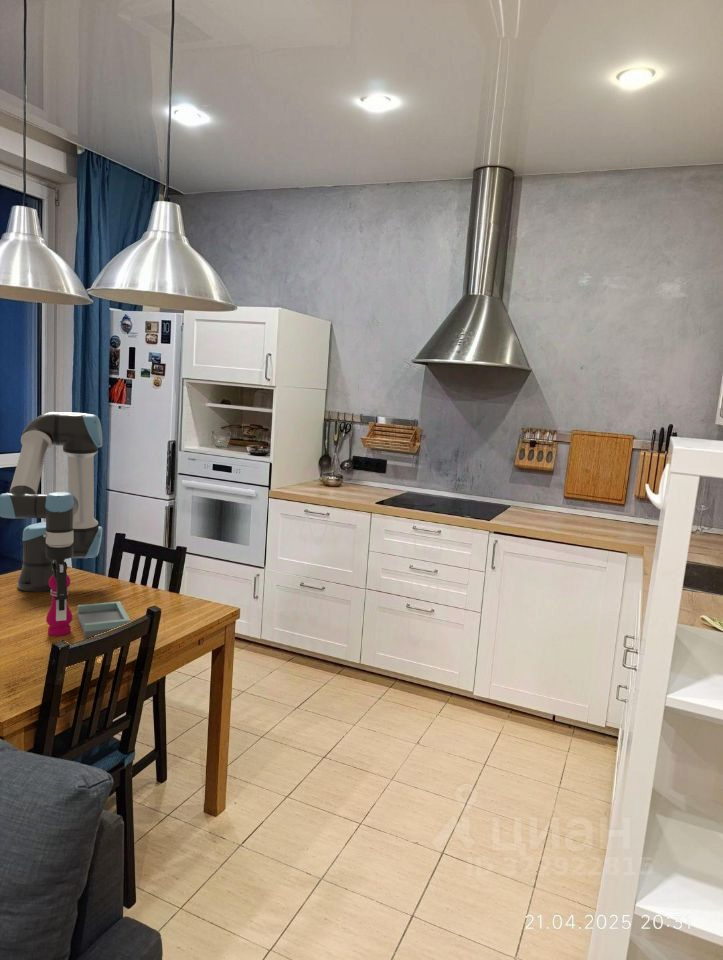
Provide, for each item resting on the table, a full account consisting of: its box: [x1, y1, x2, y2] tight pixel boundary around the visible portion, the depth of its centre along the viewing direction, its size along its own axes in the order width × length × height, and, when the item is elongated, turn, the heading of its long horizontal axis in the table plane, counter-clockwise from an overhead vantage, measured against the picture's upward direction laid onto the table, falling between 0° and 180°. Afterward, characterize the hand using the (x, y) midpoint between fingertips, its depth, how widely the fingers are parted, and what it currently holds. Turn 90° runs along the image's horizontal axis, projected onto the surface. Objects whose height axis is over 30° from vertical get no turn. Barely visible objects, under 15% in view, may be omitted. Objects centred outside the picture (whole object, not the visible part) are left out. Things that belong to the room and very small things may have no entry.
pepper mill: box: [45, 574, 73, 637], centre depth 199 cm, size 7×7×20 cm
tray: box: [77, 600, 131, 639], centre depth 209 cm, size 19×13×4 cm
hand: (59, 612), depth 199 cm, fingers open, 13 cm apart
